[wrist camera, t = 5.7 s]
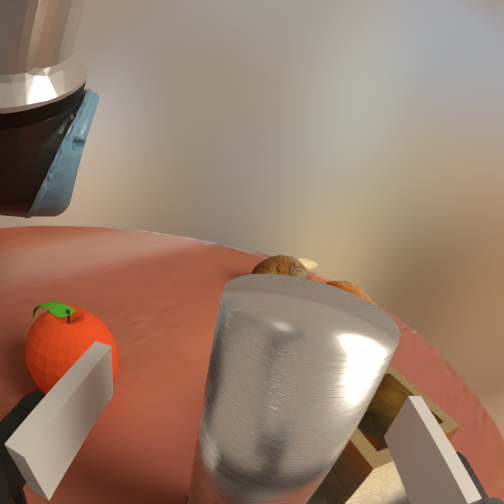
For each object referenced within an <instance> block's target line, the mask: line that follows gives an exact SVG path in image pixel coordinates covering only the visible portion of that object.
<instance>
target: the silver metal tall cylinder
mask: <svg viewBox="0 0 504 504" xmlns="http://www.w3.org/2000/svg"><path fill="white" fill-rule="evenodd" d="M399 340H400V330H399V327H398V325H397V324H396V322H395V321H394V320H393V319H392V318H391V317H390V316H389V315H388V314H387V313H386V312H385V311H383V310H382V309H381V308H379V307H378V306H376V305H375V304H373V303H371V302H369V301H368V300H366V299H364V298H362V297H360V296H358V295H355V294H353V293H351V292H348V291H346V290H343V289H340V288H337V287H335V286H332V285H328V284H325V283H321V282H318V281H314V280H309V279H305V278H300V277H294V276H288V275H279V274H250V275H244V276H239V277H236V278H234V279H232V280H230V281H228V282H227V283H226V284H225V285H224V287H223V290H222V295H221V300H220V306H219V311H218V317H217V322H216V328H215V333H214V339H213V345H212V350H211V356H210V362H209V367H208V373H207V379H206V385H205V391H204V397H203V403H202V409H201V415H200V421H199V428H198V434H197V440H196V447H195V453H194V460H193V466H192V473H191V480H190V486H189V493H188V496H187V498H186V501H185V504H306V503H307V502H308V500H309V499H310V498H311V496H312V495H313V494H314V492H315V491H316V490H317V488H318V487H319V485H320V484H321V483H322V481H323V480H324V478H325V477H326V475H327V474H328V472H329V471H330V470H331V468H332V467H333V465H334V463H335V462H336V460H337V459H338V457H339V456H340V454H341V453H342V451H343V449H344V448H345V446H346V445H347V443H348V441H349V440H350V438H351V436H352V435H353V433H354V431H355V429H356V428H357V426H358V424H359V422H360V421H361V419H362V417H363V415H364V413H365V412H366V410H367V408H368V406H369V404H370V402H371V400H372V398H373V396H374V394H375V392H376V390H377V388H378V386H379V384H380V382H381V380H382V378H383V376H384V374H385V372H386V370H387V368H388V365H389V363H390V361H391V359H392V357H393V354H394V352H395V350H396V347H397V345H398V343H399Z"/></svg>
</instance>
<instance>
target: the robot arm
mask: <svg viewBox="0 0 504 504" xmlns="http://www.w3.org/2000/svg"><path fill="white" fill-rule="evenodd" d="M87 2H88V0H0V215H5V216H17V217H25V218H30V217H32V216H57V215H59V214H61V213H63V212H64V211H65V210H66V209H67V207H68V206H69V204H70V201H71V196H72V192H73V188H74V184H75V179H76V175H77V171H78V167H79V163H80V159H81V155H82V152H83V148H84V145H85V141H86V138H87V135H88V132H89V129H90V125H91V122H92V119H93V116H94V113H95V110H96V107H97V104H98V101H99V95H98V94H97V93H95V92H92V90H90V89H87V90H84V87H85V82H86V77H87V68H86V66H85V65H84V63H83V62H82V61H81V60H80V58H79V57H78V56H77V55H76V54H75V50H74V49H75V45H76V41H77V37H78V33H79V29H80V26H81V22H82V19H83V15H84V12H85V9H86V5H87ZM113 394H114V392H113V375H112V346H110V345H107V344H104V343H101V342H98V341H95V342H94V343H93V344H92V345H91V347H90V348H89V349H88V350H87V351H86V352H85V353H84V354H83V355H82V356H81V357H80V358H79V359H78V360H77V362H76V363H75V364H74V365H73V366H72V367H71V368H70V369H69V370H68V371H67V372H66V373H65V375H64V376H63V377H62V378H61V379H60V380H59V381H58V382H57V383H56V385H55V386H54V387H53V388H52V389H51V390H50V391H49V392H48V394H47V395H45V394H43V393H41V392H39V391H37V390H36V391H33V392H31V393H29V394H27V395H25V396H24V397H23V398H22V399H21V400H20V401H19V403H18V405H16V406H15V407H14V408H13V409H12V410H11V412H9V413H8V414H7V416H6V417H5V418H4V419H3V420H2V421H1V422H0V504H27V501H26V497H25V494H24V491H23V489H22V488H23V486H24V485H25V483H27V485H28V486H29V488H30V489H31V490H32V491H33V492H35V493H37V494H38V495H40V496H42V497H44V498H45V499H47V500H50V498H51V497H52V495H53V493H54V491H55V490H56V488H57V486H58V484H59V483H60V481H61V479H62V478H63V476H64V474H65V472H66V471H67V469H68V467H69V466H70V464H71V462H72V461H73V459H74V457H75V456H76V454H77V452H78V451H79V449H80V447H81V446H82V444H83V442H84V441H85V439H86V437H87V436H88V434H89V433H90V431H91V429H92V428H93V426H94V424H95V423H96V421H97V420H98V418H99V416H100V415H101V413H102V412H103V410H104V408H105V407H106V405H107V404H108V402H109V401H110V399H111V397H112V396H113ZM384 438H385V441H386V443H387V446H388V448H389V451H390V453H391V456H392V458H393V461H394V463H395V466H396V468H397V471H398V473H399V476H400V478H401V481H402V483H403V486H404V489H405V491H406V494H407V497H408V499H409V502H410V504H504V503H503V502H502V501H501V500H500V499H498V498H490V499H489V497H488V496H487V494H486V492H485V490H484V489H483V487H482V485H481V483H480V481H479V480H478V478H477V476H476V475H474V471H473V469H472V468H471V466H470V464H469V463H468V461H467V459H466V458H465V457H464V456H463V455H462V454H460V453H459V452H455V450H454V448H453V447H452V445H451V443H450V442H449V440H448V439H447V437H446V435H445V434H444V432H443V430H442V429H441V427H440V425H439V424H438V422H437V421H436V419H435V417H434V416H433V414H432V413H431V411H430V410H429V408H428V406H427V405H426V403H425V402H424V400H423V399H422V397H421V396H408V397H407V399H406V401H405V403H404V404H403V406H402V408H401V410H400V411H399V413H398V415H397V416H396V418H395V420H394V421H393V423H392V424H391V426H390V428H389V429H388V431H387V432H386V434H385V436H384Z"/></svg>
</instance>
